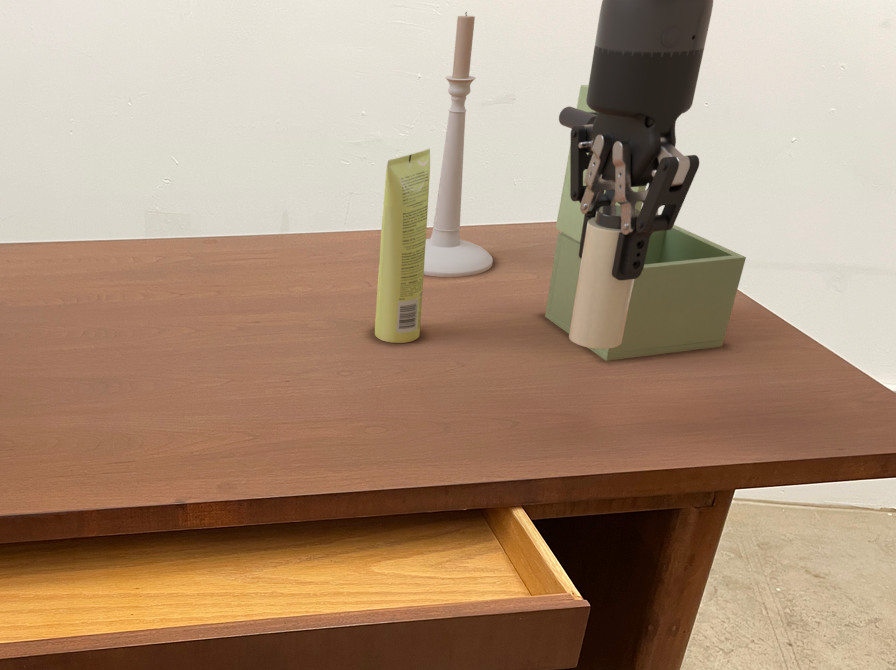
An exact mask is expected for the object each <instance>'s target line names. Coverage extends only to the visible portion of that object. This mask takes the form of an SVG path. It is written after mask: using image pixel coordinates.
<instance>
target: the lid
mask: <svg viewBox="0 0 896 670" xmlns="http://www.w3.org/2000/svg"><path fill="white" fill-rule="evenodd" d="M588 86H589V84H580V87H579V93H578V97H577V104H576V107H574V106H566V107H564V108H562V109H561V111H560V113H559V115H558V122H559V124H560V125H561V126H563V127H566V128H569V129H571V130H572V128H573V127H574V126H582V125H591V124H594V121H595V119H596V117H597V115H598V112H596V111H593V110H592V109H590V108H589V107H588V105H587V102H586V99H587V93H588ZM570 145H571V143H570V144H569V146H570ZM588 154H589V153H587V155H588ZM586 172H587V169H585V170H584V172H583V186H585V185H586V184H585V183H584V178H585V175H586ZM631 189H632V190H633V191H634V192H639V191H645V190H647V186H639V187H631ZM605 192H606V190H604V194H605ZM580 205H581V203H580V202H579V201H572V199H571V196H570V149H569V150H568V155H567V161H566V168H565V174H564V179H563V185H562V190H561V195H560V202H559V207H558V213H557V219H556V224H555V229H556V230H557V231H559V232H560V233H562V232H563V233H564V234H566V235H568V236H570V237H572V238H573V239H575V240H577V241H579V242H580V240H581V234H582V228H583V222H584V215H585V214H582V212H581V209H580ZM615 205H618V206H621V205H620V204H619V203H617V202H616V204H615ZM642 206H643V202H641V201H638V202H637V203H636V209H637V210H639V211H641V208H642Z"/></svg>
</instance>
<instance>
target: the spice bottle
mask: <svg viewBox="0 0 896 670" xmlns="http://www.w3.org/2000/svg"><path fill="white" fill-rule="evenodd" d="M639 213H640V211H639V210H637V209H636V217H638V216H639ZM619 233H622V231H621V206H618V205H610V206H602V207H599V208H597V210H596V214H595V217H594V218H591V219H589V220H588V223H587V229H586V235H585V241H584V247H583V253H582V259H581V265H580V271H579V277H578V283H577V289H576V295H575V301H574V307H573V313H572V319H571V325H570V331H569V334H568V339H569V340H570V342H572V343H574V344H575V345H578V346H580V347H584V348H587V349H589V348H595V349H609V348H614V347H617V346H619V345H620V344H621V343H622V340H623V335H624V330H625V325H626V320H627V315H628V310H629V305H630V301H631V296H632V291H633V286H634V281H635V279H630V280H618V279H616V278H614V277H613V276H612V269H613V264H614V259H615V253H616V248H617V243H618V237H619Z"/></svg>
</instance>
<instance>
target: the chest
mask: <svg viewBox="0 0 896 670" xmlns="http://www.w3.org/2000/svg"><path fill="white" fill-rule="evenodd" d="M579 249H580V242H579V241H577V240H575V239H573V238H572V237H570V236H568V235H566V234H564V233H563V232H558V233H557V237H556V244H555V250H554V258H553V261H552V262H553V263H552V264H553V265H552V269H551V275H550V282H549V287H548V295H547V301H546V308H545V315H544V317H545V318H546V319H547V320H549V321H550V322H552V323H553V324H555V326H557V327H558V328H560V329H561V330H563V331H564V332H565V333H567V334H568V335H569V331H570V325H571V319H572V313H573V307H574V301H575V295H576V289H577V283H578V277H579V271H580V265H581V258H580V257H579ZM746 260H747V257H746V256H745V255H742V254H740V253H738V252H736V251H733V250H732V249H729V248H728V247H727V248H726V247H724V246H722V245H720V244H718V243H715V242H713V241H711V240H709V239H707V238H705V237H702V236H700V235H698V234H696V233H693V232H692V231H689V230H687V229H685V228H682V227H680V226H678V225H675V224H674V225H673V227H672V229H670V230H664V231H656V232H653V233H652V234H651V236H650V239H649V244H648V249H647V254H646V258H645V263H644V268H643V270H642V272H641V275H640V276H639V277H638V278H636V279H635V281H634V286H633V291H632V296H631V301H630V305H629V310H628V315H627V320H626V325H625V330H624V335H623V340H622V343H621V344H620V345H619V346H617V347H614V348H609V349H595V348H588V349H589V350H591V351H592V352H593V353H595V354H596V355H597V356H598V357H600V358H601V359H602V360H604V361H606V362H608V361H617V360H623V359H624V360H625V359H633V358H639V357H647V356H655V355H663V354H673V353H681V352H688V351H696V350H697V351H698V350H703V349H704V350H705V349H712V348H721V347H723V344H724V340H725V337H726V333H727V329H728V326H729V322H730V318H731V314H732V311H733V307H734V303H735V299H736V297H737V292H738V289H739V285H740V281H741V278H742V274H743V270H744V267H745V263H746Z"/></svg>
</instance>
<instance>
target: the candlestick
mask: <svg viewBox="0 0 896 670" xmlns="http://www.w3.org/2000/svg"><path fill="white" fill-rule="evenodd" d="M467 13H468V11H465V13H464V14H465V15H458V16H457V18H456V19H457V20H456V30H455V31H456V32H455V43H454V52H453V54H454V55H453V65H452V75H448V76H445V79H446V80H447V82H448V85H449V86H448V90H447V92H448V94H449V95H450V96H451V97H450V100H451V105H450V107H449V109H448V118H447V123H446V124H447V126H446V132H445V140H444V147H443V154H442V161H441V167H440V168H441V169H440V176H439V182H438V190H437V197H436V206H435V213H434V220H433V225H432V231H431V235H430V237H429V238H426V245H425V261H424V275H425V276H431V277H441V278H459V277H460V278H461V277H469V276H474V275H479V274H481V273H485V272H486V271H488V270H489V269H491V268H492V266H493V263H494V260H493V257H492V255H491V254H490V253H489V251H487V250H486V249H485V248H483V247H482V246H480V245H478V244H476V243H473V242H471V241H468V240H465V239H464V240H463V239H461V231H460V229H461V213H462V190H463V187H462V186H463V172H464V171H463V169H464V149H465V128H466V127H465V126H466V112H467V109H466V105H465V103H466V100H467V96H468V95H469V94H470V93H471V84H472V82H473V81H474V80H476V77H475V76H471V75H470V71H471V60H472V59H471V58H472V50H473V40H474V29H475V19H476V17H475V16H474V15H468V14H467Z"/></svg>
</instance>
